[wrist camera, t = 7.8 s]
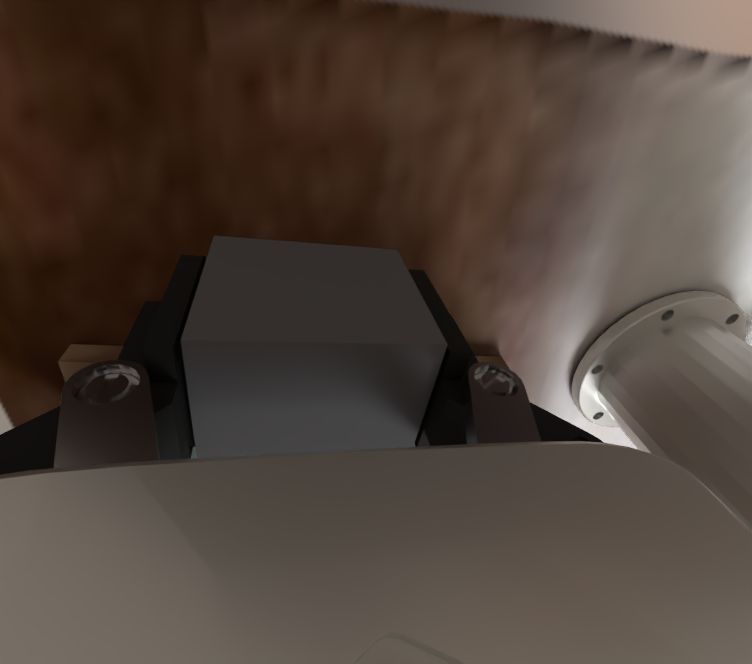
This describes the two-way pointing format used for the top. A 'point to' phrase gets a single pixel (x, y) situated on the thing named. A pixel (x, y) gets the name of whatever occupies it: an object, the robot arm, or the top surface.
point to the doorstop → (307, 349)
